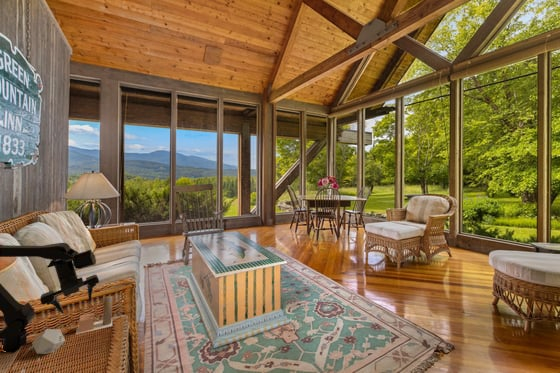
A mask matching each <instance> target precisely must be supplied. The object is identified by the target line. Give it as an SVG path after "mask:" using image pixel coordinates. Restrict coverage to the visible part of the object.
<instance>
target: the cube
mask: <svg viewBox="0 0 560 373" xmlns="http://www.w3.org/2000/svg"><path fill="white" fill-rule="evenodd" d="M94 321H95V312H92V313H88V314H87V313H86V314H83V315H82V314H81V315H79V324H78V326H79V332H83V331H87V330H92V329H93V326H94Z"/></svg>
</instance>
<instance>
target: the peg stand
mask: <svg viewBox="0 0 560 373" xmlns="http://www.w3.org/2000/svg"><path fill="white" fill-rule="evenodd" d="M113 299H114V298H113V295H107V296H105V297H104V298H103V312H102V314H103V315H102V320H99V321H95V322H94V326H93V329H92V330H87V331H83V332H79V328H77V327H76V330H75V335H79V334H83V333H88V332H92V331H96V330H100V329H104V328H106V329H107V328H109V327H112V326H113V318H112V313H113Z"/></svg>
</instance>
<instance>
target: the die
mask: <svg viewBox="0 0 560 373" xmlns="http://www.w3.org/2000/svg"><path fill="white" fill-rule="evenodd" d="M65 342H66V339H65V336H64V334H63V333H62V331H61V329H59V328H58V329H57V328H56V329H54V328H46V329H45V330H44V331H43V332H41V333H40V334H39V335H38V336H37V337H36V338H35V339H34V340H33V341H32V342H31V344H32V346H33V349H34V351H35V353H36V354H37V355H48V354H52V353H54V352H56V351H57V350H58V349H59V348H60V347H61V346H62V345H63V344H64V343H65Z"/></svg>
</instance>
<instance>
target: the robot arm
mask: <svg viewBox="0 0 560 373" xmlns="http://www.w3.org/2000/svg"><path fill="white" fill-rule="evenodd" d="M8 257H9V258H33V257H35V258H37V257H38V258H42V259H44V260H45V259H46V260H50V262H49V263H48V265H47V266H46V267H47V269H48V268H52V267H54V269H55V272H56V277H57V279H58V283H59V288H60V290H57V291H54V290H49V291H47V292H44V293H41V295H40V300H39V301H40V304H41V305H42V306H43V305H48V306H49V305H52V306H54V308H56V309H57V310H58V311H59V312H61V314H64V310H63V307H62V305H61V303H60V301H59V299H58V297H59V296H61V295H63V296H64V297H69V296H70V295H73V294H75V293H79V292H80V288H83V287H84V286H86V287H87V297H88V301H89V302H91V301H92V294H93V289H94V287H96V286H97V284H99V283H100V280H99V277H98V275H97V274H93V275H91V276H87V277H85V280H84V279H83V277H78V275H77V272H76V270H75V269H78V270H81V269H85V268H88V267H91V266H96V264H97V258H96V255H95V253H94V252H93V251H92V249H88V250H85V251H83V252H82V251H81V252H78V251H77V250H75V249H73V247H71V246H70V244H68V243H66V242H59V243H58V242H57V243H51V244H45V245H4V244H0V258H8ZM35 310H36V308H34V307H32V305H31V304H30V303H29V302H26V303H25V304H23V303H19V302H18V300H16V298H14V296H12V294H11V293H10V292H9V291H8V290H7V289H6V288H5V286H3V284H1V283H0V312H1V313H2V316H3V321H4V324H5V327H4V328H3V329H2V330H1V331H0V340H1V344H0V346H1V345H3V350H4V351H6V352H13V353H15V352H17V351H19V349H21V347H23V346H24V345H26V344H27V339H28V338H27V336H28V334H27V329H26V327H27V326H28V325H29V324H30V323H31V322H32V320H33V319H34V318H35V316H36V311H35ZM6 352H5V353H6Z"/></svg>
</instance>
